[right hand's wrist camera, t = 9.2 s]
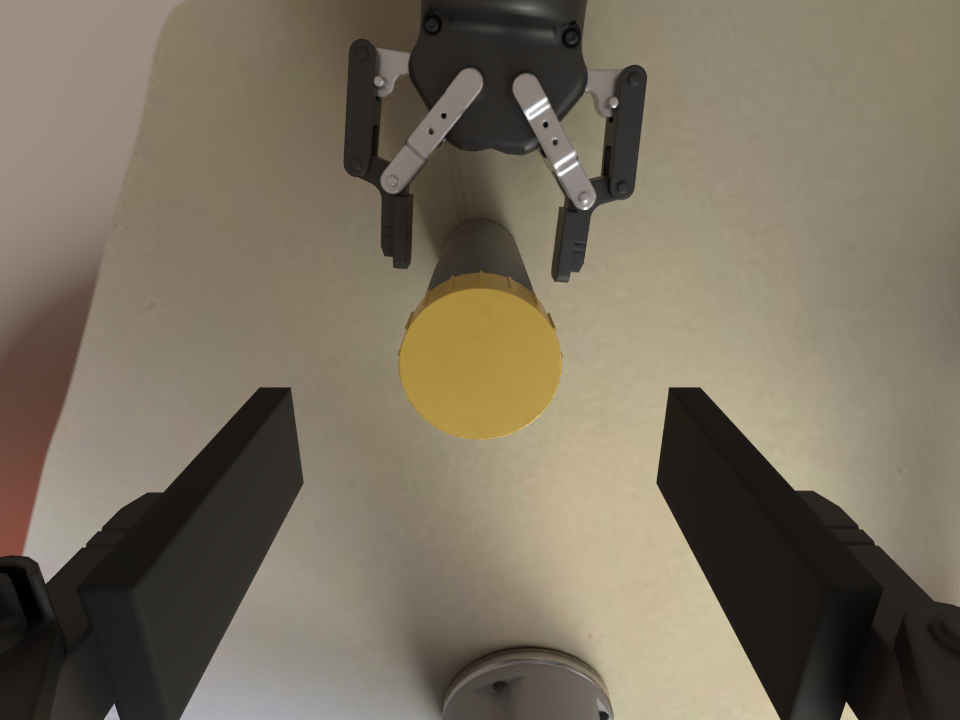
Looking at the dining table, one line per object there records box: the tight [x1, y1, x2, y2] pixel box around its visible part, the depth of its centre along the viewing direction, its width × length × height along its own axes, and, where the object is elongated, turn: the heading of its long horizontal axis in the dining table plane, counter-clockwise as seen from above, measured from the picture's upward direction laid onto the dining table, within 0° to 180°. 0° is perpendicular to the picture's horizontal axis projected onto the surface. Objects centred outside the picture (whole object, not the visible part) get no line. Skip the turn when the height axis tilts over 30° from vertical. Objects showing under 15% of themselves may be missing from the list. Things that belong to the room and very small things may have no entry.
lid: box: [398, 271, 562, 439], centre depth 19 cm, size 6×6×2 cm
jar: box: [425, 219, 533, 295], centre depth 27 cm, size 5×5×19 cm
